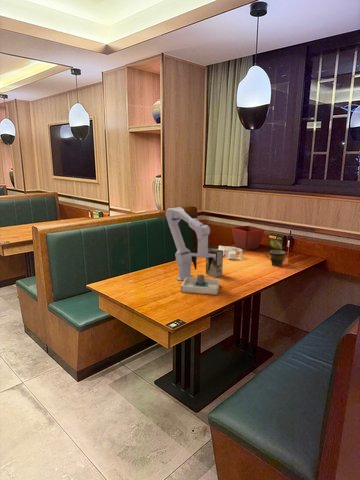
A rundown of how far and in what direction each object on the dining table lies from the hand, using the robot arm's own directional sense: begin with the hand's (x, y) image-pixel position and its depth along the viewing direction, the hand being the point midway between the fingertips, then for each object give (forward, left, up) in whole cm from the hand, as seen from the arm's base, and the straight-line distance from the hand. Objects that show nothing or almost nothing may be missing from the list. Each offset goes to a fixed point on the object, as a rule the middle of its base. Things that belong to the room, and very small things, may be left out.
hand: (202, 269), depth 195 cm
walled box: (+6, 0, -9) cm, 11 cm away
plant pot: (-91, +25, -10) cm, 95 cm away
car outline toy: (-61, +12, -10) cm, 63 cm away
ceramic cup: (-47, +44, -10) cm, 65 cm away
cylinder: (+6, 0, -9) cm, 11 cm away
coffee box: (-20, +5, -10) cm, 23 cm away
